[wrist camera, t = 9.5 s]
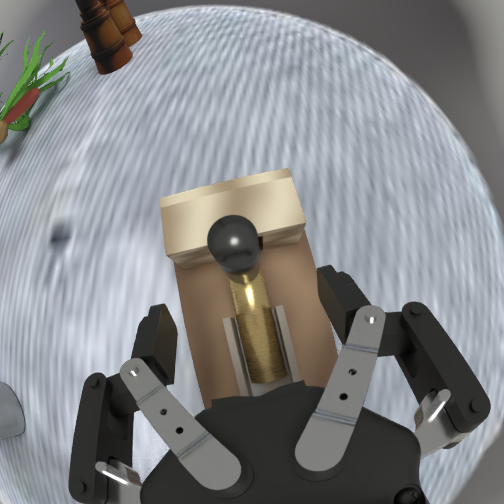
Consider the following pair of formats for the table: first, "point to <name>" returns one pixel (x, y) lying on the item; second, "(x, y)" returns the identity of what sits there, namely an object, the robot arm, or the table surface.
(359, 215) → the table surface
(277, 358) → the brass sliding bolt
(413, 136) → the table surface
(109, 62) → the binoculars
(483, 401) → the robot arm
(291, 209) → the guide
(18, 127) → the decorative plant
